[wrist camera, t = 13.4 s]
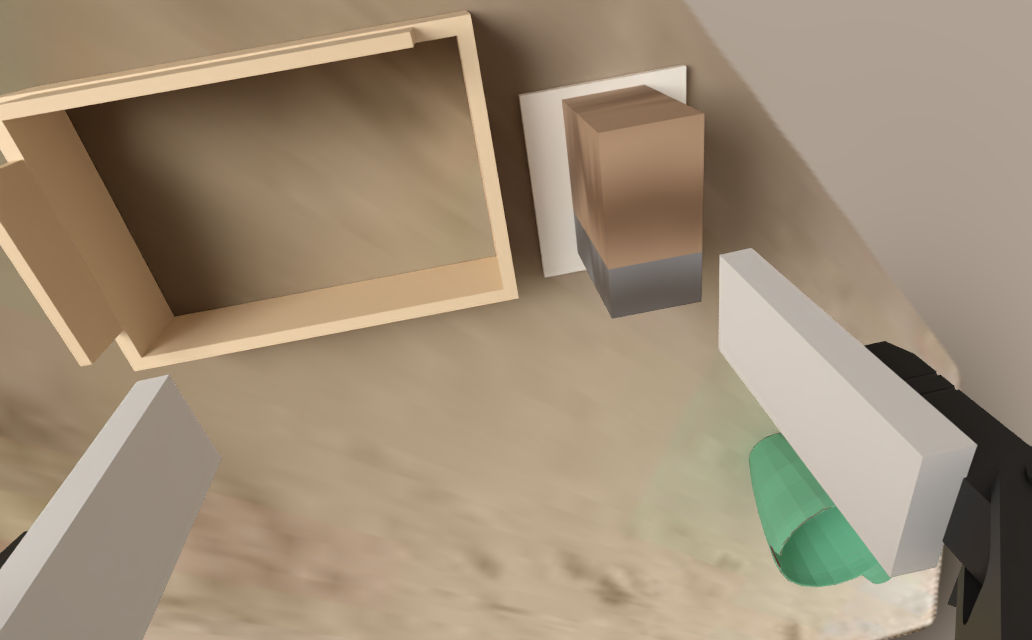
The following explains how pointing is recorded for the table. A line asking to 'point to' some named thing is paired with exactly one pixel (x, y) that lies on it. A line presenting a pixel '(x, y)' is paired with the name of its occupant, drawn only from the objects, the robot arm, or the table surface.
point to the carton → (118, 262)
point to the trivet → (552, 159)
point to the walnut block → (637, 196)
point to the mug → (805, 521)
